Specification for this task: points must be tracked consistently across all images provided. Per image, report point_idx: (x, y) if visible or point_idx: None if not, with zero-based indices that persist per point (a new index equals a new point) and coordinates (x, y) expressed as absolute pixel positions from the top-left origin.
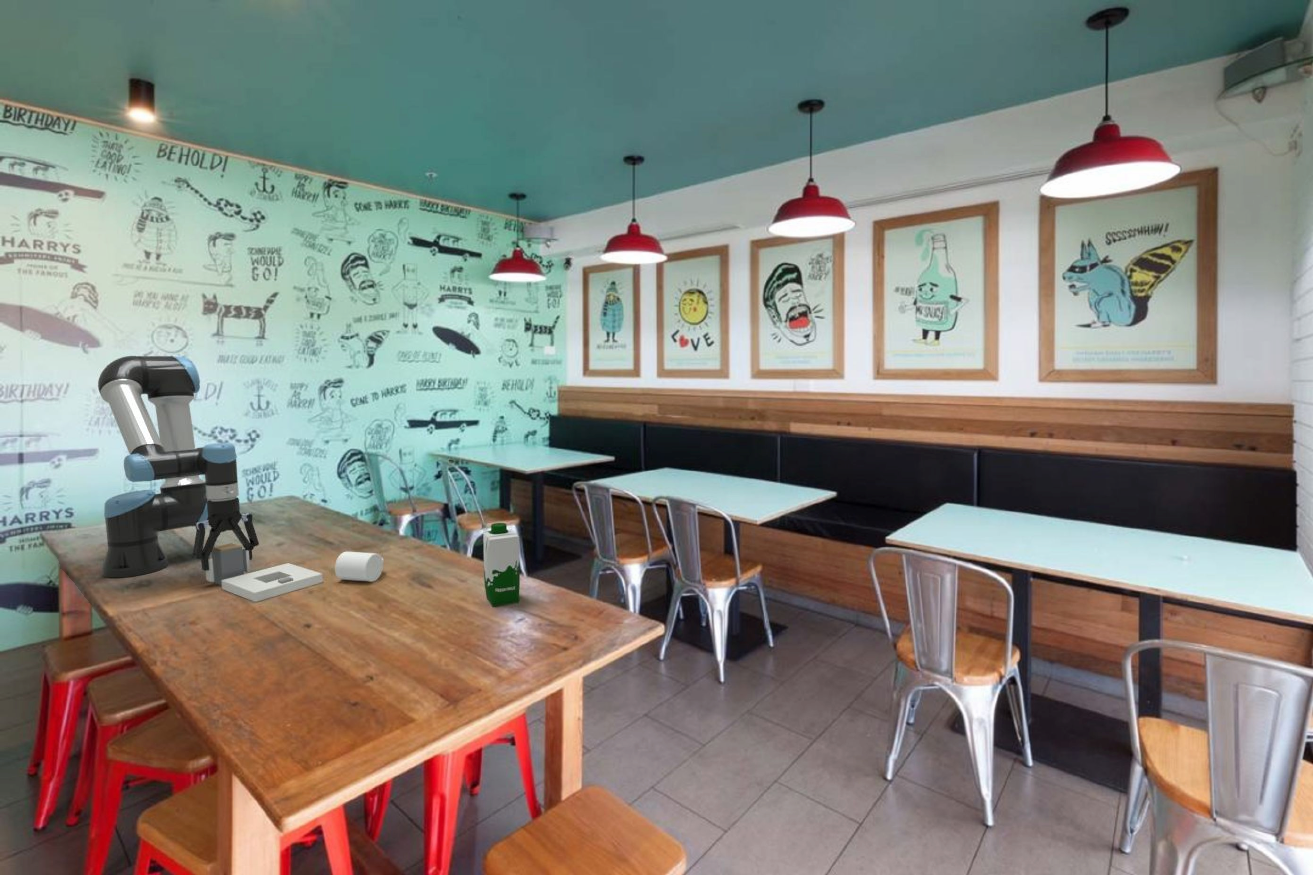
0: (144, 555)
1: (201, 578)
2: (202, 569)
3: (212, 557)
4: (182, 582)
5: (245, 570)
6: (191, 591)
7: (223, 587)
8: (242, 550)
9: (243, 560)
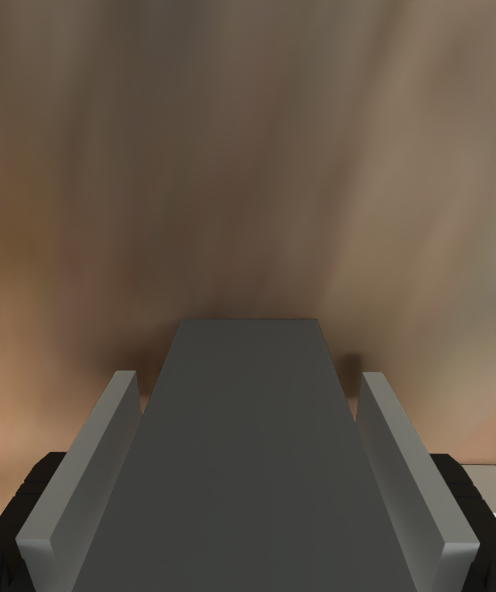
0: None
1: (159, 134)
2: (45, 456)
3: (125, 476)
4: (23, 111)
5: (360, 415)
6: (35, 375)
7: None
8: (436, 553)
9: (389, 458)
